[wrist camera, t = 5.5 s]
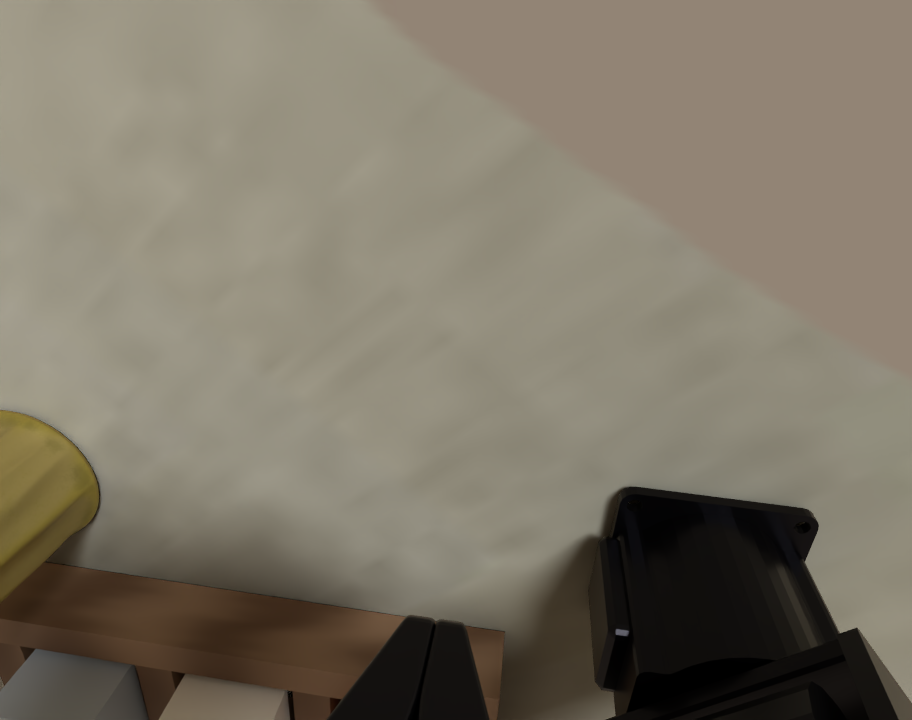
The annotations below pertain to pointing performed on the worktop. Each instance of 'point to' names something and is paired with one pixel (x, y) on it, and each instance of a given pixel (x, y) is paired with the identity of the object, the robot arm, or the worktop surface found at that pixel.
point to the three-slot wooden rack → (209, 636)
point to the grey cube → (72, 689)
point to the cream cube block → (225, 701)
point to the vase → (38, 495)
